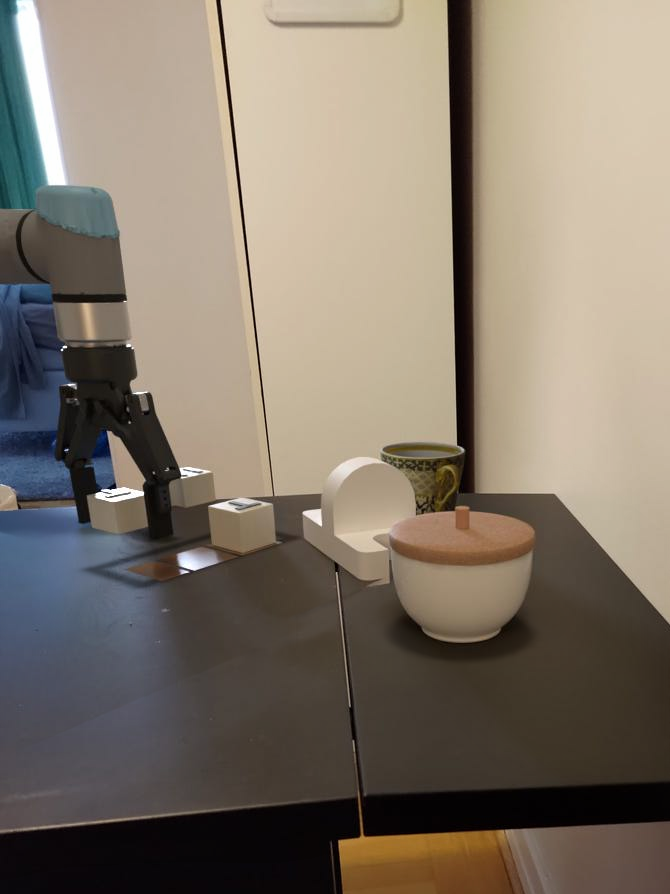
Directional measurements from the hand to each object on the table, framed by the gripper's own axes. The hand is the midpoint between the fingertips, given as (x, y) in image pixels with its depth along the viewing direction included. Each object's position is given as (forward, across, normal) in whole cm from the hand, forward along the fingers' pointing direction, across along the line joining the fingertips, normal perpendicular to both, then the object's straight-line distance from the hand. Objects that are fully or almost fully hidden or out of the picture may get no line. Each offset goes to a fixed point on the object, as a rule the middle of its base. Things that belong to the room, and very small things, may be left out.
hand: (125, 530), depth 105 cm
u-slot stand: (+1, -30, -10) cm, 31 cm away
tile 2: (0, -17, -4) cm, 17 cm away
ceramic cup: (+1, -30, -21) cm, 36 cm away
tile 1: (0, 0, 0) cm, 0 cm away
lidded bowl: (+1, -50, +1) cm, 50 cm away
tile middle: (0, +4, -12) cm, 13 cm away
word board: (0, -17, +3) cm, 17 cm away
